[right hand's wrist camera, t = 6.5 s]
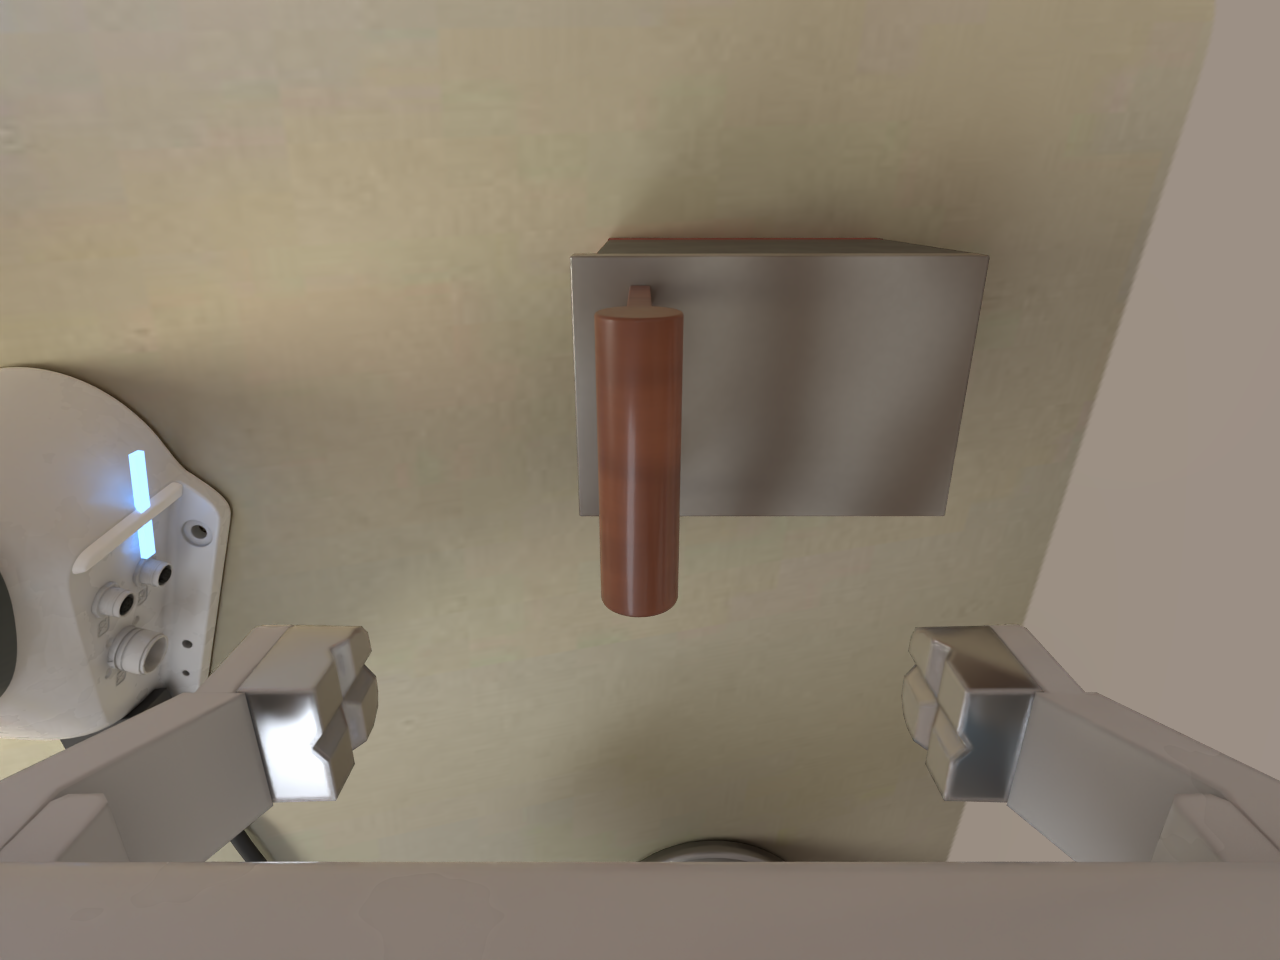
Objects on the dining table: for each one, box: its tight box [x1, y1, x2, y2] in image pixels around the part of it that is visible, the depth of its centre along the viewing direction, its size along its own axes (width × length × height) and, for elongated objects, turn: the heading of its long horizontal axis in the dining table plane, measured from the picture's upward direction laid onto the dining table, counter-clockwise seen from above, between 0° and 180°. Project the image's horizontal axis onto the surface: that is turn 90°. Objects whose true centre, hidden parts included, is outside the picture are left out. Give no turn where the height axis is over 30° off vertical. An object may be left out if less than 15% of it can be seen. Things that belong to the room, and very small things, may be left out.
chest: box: [597, 238, 969, 254], centre depth 32 cm, size 13×10×11 cm
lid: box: [570, 253, 989, 617], centre depth 22 cm, size 14×10×10 cm
